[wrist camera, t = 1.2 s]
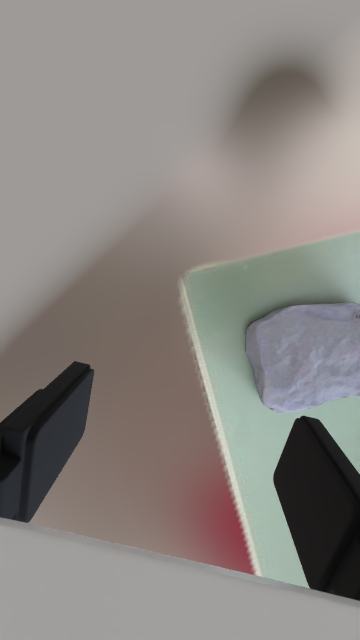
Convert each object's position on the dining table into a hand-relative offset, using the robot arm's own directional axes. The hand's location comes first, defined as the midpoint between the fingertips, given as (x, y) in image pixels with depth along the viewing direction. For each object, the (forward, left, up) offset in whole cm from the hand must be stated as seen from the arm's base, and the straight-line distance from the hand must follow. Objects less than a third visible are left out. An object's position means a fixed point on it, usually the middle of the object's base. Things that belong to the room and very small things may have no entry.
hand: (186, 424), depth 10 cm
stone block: (0, +12, -18) cm, 22 cm away
